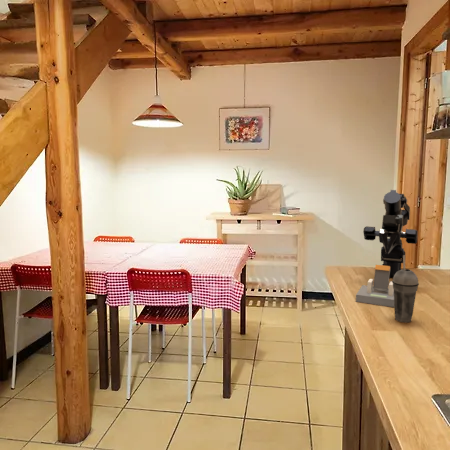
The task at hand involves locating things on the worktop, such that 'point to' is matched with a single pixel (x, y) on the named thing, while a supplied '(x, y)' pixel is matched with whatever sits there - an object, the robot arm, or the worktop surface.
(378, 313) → the worktop surface
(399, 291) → the beverage cup
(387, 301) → the breaker base
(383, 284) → the lever
